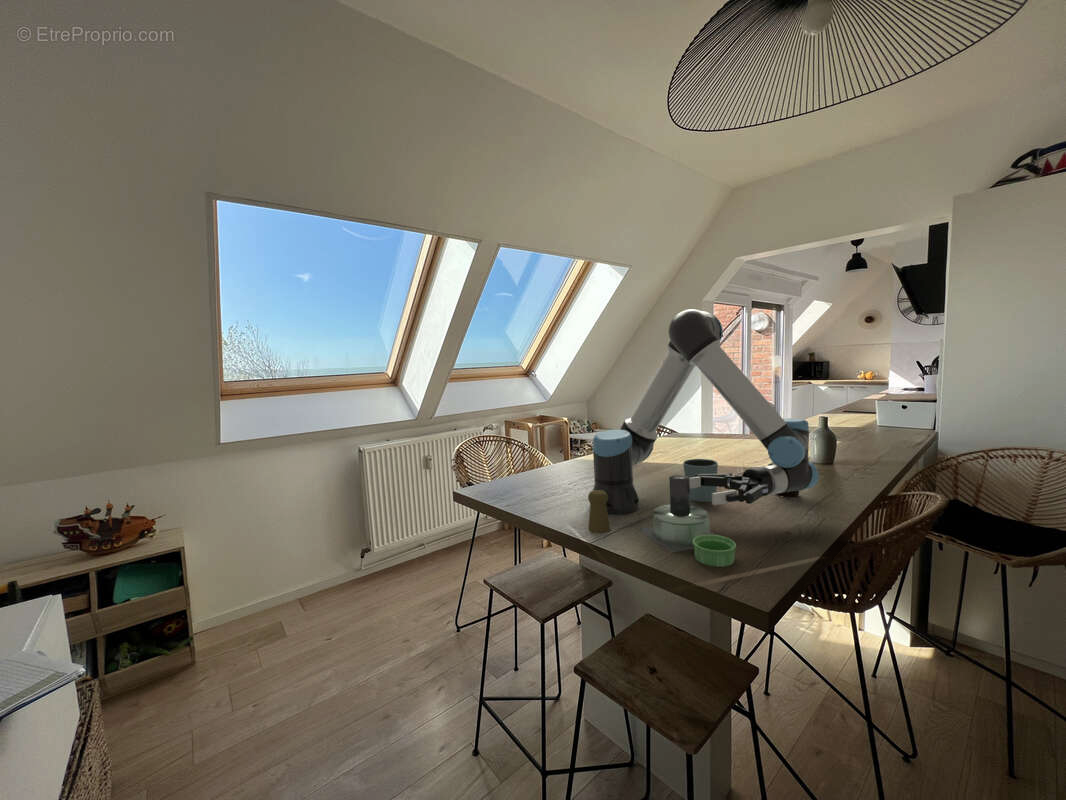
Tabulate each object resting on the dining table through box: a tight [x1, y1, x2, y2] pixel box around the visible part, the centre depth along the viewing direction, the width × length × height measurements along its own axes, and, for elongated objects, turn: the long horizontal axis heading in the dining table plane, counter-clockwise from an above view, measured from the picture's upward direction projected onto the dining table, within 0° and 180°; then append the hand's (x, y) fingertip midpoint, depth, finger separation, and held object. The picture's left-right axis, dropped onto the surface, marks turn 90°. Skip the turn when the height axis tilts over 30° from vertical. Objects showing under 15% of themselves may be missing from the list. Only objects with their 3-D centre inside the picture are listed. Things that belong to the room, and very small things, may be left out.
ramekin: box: [693, 534, 737, 568], centre depth 100 cm, size 9×9×4 cm
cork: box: [587, 489, 611, 534], centre depth 120 cm, size 6×6×11 cm
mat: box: [636, 525, 717, 554], centre depth 114 cm, size 16×16×1 cm
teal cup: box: [682, 458, 719, 503], centre depth 142 cm, size 10×10×12 cm
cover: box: [652, 474, 710, 546], centre depth 113 cm, size 13×13×15 cm
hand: (694, 491), depth 113 cm, fingers open, 13 cm apart
